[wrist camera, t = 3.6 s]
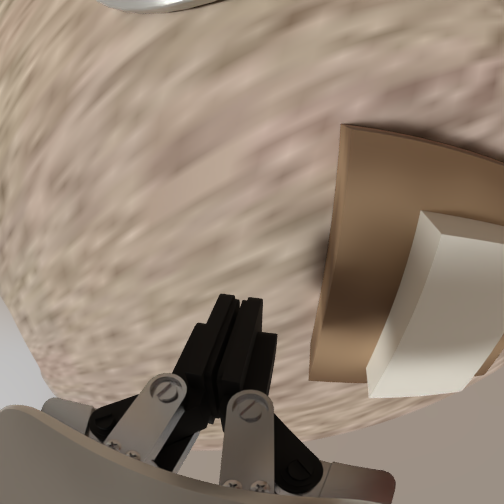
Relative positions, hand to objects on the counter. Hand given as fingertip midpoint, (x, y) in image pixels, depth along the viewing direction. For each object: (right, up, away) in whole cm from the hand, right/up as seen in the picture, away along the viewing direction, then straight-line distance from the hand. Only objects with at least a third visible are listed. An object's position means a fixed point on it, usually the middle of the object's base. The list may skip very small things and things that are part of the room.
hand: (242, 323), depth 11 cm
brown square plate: (+11, +2, +2) cm, 11 cm away
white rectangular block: (+9, 0, 0) cm, 10 cm away
